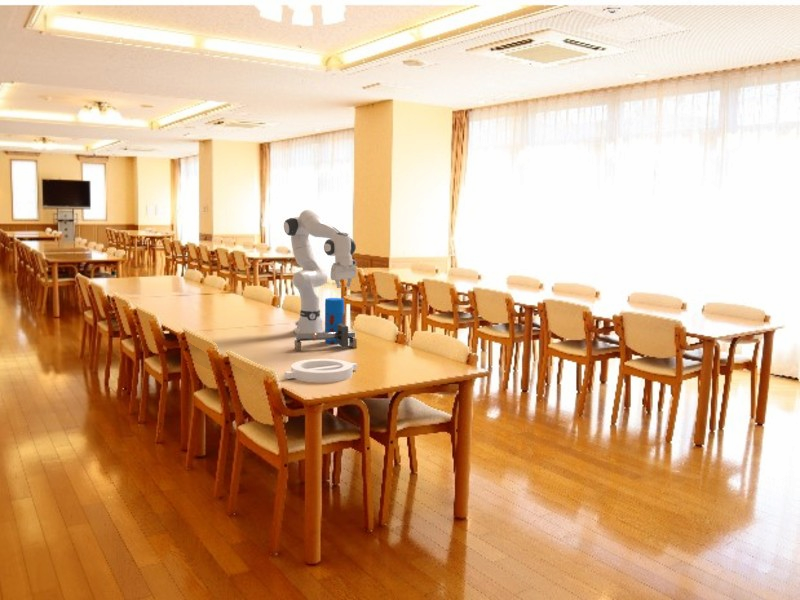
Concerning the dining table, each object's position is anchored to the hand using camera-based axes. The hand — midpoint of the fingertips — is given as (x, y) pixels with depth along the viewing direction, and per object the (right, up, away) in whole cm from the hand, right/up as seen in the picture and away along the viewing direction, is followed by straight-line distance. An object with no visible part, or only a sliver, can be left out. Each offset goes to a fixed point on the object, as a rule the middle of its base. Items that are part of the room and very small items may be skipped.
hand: (343, 287), depth 370 cm
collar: (-1, -32, -1) cm, 32 cm away
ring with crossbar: (-5, -42, -63) cm, 76 cm away
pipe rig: (-9, -34, -4) cm, 35 cm away
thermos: (-7, -32, +14) cm, 35 cm away
